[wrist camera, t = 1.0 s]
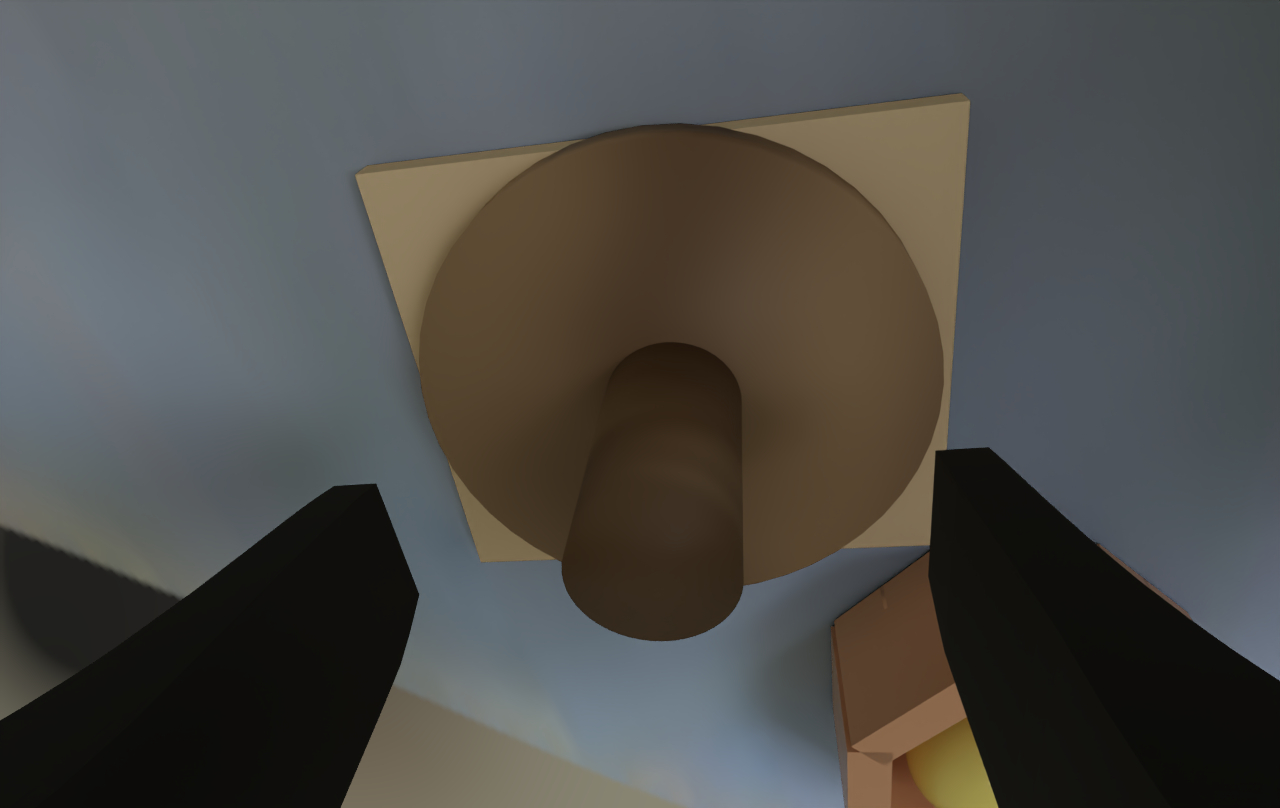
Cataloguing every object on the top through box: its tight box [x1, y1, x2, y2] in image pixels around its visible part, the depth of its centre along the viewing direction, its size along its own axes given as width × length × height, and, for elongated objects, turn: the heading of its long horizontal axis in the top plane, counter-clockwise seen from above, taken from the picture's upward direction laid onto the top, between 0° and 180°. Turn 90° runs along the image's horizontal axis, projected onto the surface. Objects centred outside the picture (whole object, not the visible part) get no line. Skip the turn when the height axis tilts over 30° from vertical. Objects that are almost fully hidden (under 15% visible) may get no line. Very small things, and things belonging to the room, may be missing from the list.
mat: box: [355, 93, 970, 562], centre depth 14 cm, size 9×8×1 cm
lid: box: [419, 123, 944, 641], centre depth 12 cm, size 8×8×5 cm
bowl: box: [831, 544, 1192, 808], centre depth 16 cm, size 7×7×3 cm
